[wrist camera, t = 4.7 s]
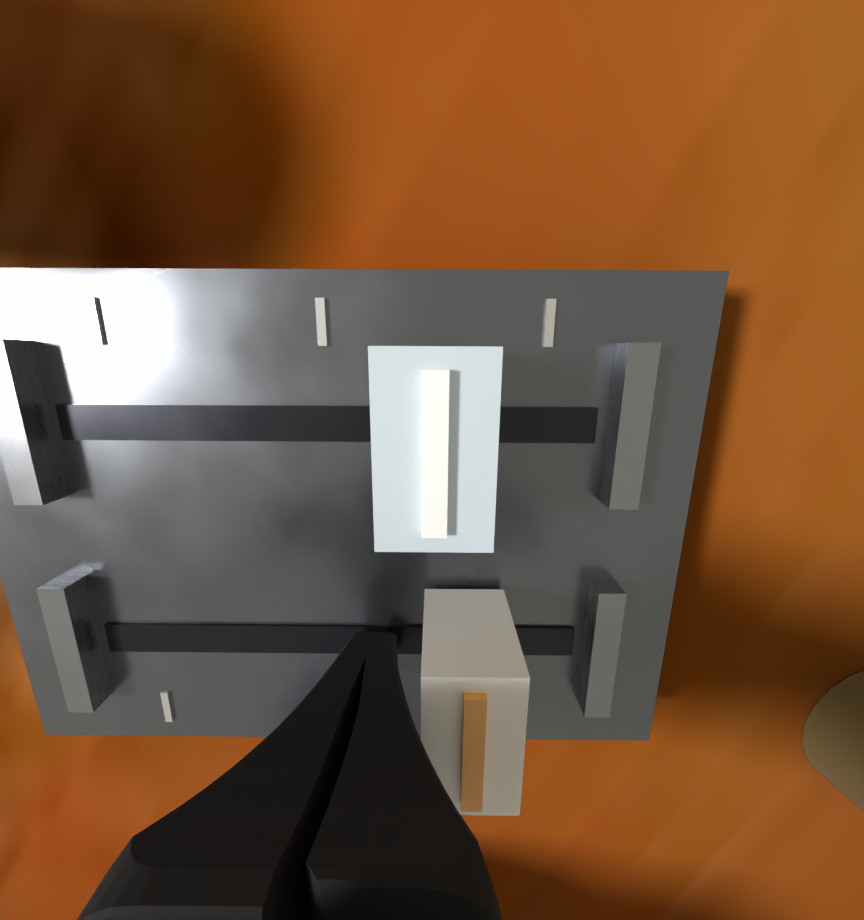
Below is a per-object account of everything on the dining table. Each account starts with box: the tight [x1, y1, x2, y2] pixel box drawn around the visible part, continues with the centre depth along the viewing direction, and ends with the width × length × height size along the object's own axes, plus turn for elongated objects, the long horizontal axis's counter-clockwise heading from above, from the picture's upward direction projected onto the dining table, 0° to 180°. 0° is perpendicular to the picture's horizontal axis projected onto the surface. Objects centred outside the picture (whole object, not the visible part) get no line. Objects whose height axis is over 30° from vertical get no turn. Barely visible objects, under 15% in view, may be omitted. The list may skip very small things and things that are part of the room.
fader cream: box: [421, 589, 530, 816], centre depth 11 cm, size 4×2×4 cm, turn 0°
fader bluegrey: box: [368, 346, 503, 553], centre depth 9 cm, size 4×2×4 cm, turn 0°
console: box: [0, 268, 729, 740], centre depth 13 cm, size 15×21×3 cm
